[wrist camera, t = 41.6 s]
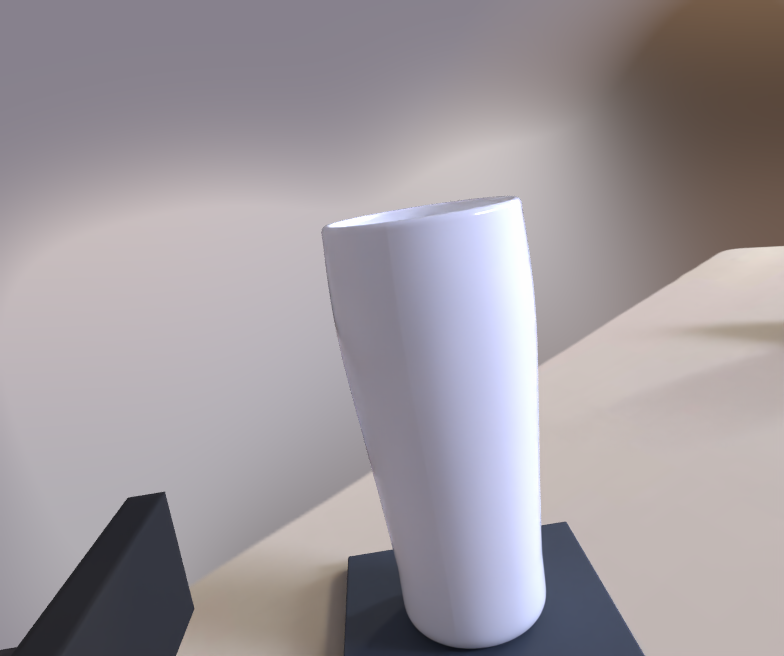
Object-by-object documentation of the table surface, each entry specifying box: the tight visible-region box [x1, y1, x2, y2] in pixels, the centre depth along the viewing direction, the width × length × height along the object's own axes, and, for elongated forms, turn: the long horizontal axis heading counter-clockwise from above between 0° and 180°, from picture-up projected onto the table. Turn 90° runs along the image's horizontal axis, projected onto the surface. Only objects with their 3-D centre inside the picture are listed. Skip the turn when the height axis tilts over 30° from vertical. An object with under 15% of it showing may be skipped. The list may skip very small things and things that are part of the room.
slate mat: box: [344, 522, 645, 656], centre depth 25 cm, size 10×10×1 cm
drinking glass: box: [321, 196, 546, 649], centre depth 24 cm, size 7×7×15 cm
